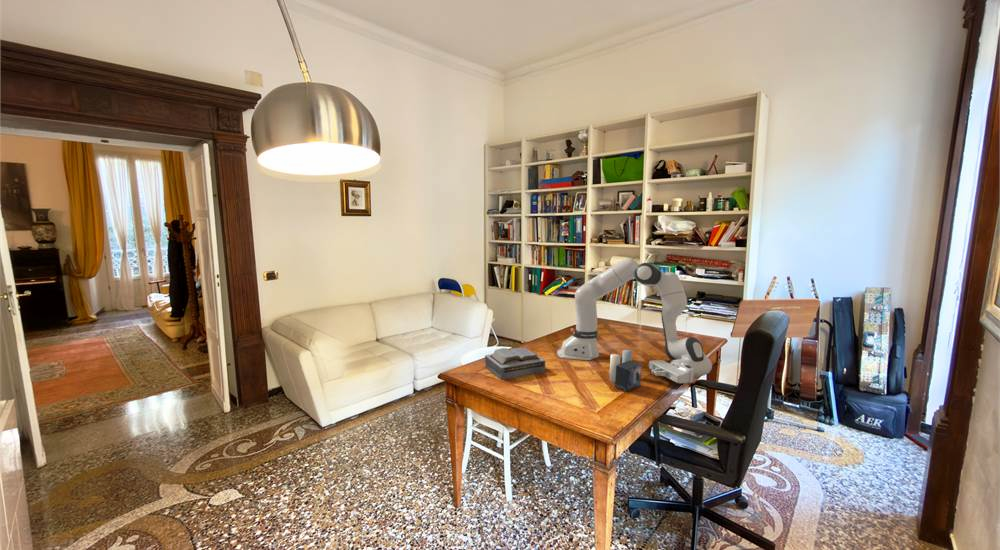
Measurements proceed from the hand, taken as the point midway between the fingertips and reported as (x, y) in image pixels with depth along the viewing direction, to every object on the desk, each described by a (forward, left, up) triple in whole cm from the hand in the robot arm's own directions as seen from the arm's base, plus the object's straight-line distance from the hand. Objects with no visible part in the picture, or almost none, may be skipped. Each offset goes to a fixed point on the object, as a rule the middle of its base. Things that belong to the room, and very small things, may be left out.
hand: (653, 372), depth 178 cm
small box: (-12, -4, -5) cm, 14 cm away
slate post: (-9, +9, -5) cm, 14 cm away
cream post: (-16, +3, -5) cm, 17 cm away
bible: (-62, +16, -6) cm, 64 cm away
